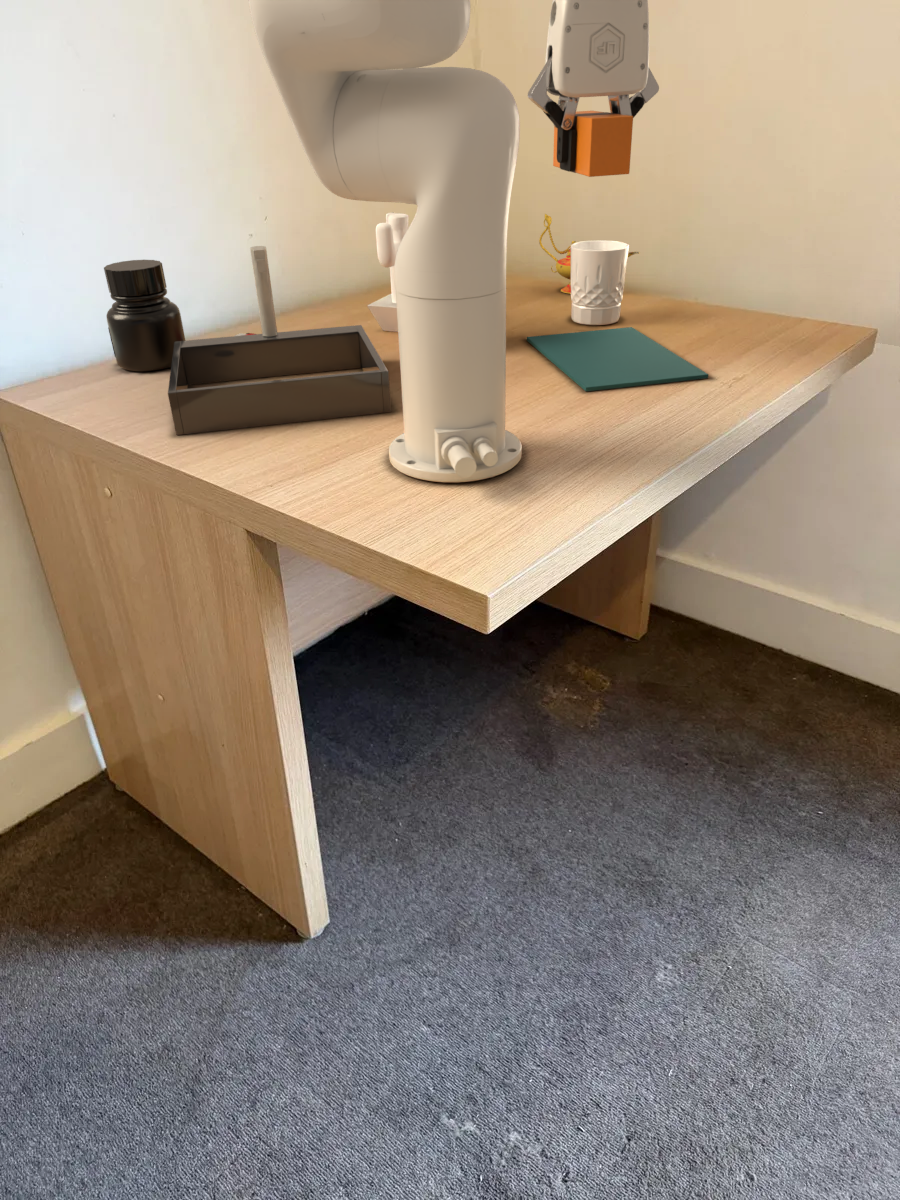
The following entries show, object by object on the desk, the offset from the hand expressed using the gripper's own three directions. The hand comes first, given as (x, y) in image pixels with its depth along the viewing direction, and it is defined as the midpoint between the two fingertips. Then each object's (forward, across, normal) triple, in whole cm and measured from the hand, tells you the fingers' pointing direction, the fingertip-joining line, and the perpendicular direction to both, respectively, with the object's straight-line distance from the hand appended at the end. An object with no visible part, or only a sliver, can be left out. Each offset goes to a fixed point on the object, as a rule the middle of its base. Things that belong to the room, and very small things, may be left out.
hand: (590, 166), depth 96 cm
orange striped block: (0, 0, 0) cm, 0 cm away
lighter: (+22, -38, +20) cm, 48 cm away
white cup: (+22, +9, +18) cm, 30 cm away
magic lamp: (+22, +14, +34) cm, 43 cm away
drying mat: (+22, +4, 0) cm, 22 cm away
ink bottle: (+22, -52, +18) cm, 59 cm away
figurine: (+22, -18, +23) cm, 37 cm away
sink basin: (+21, -37, 0) cm, 43 cm away
